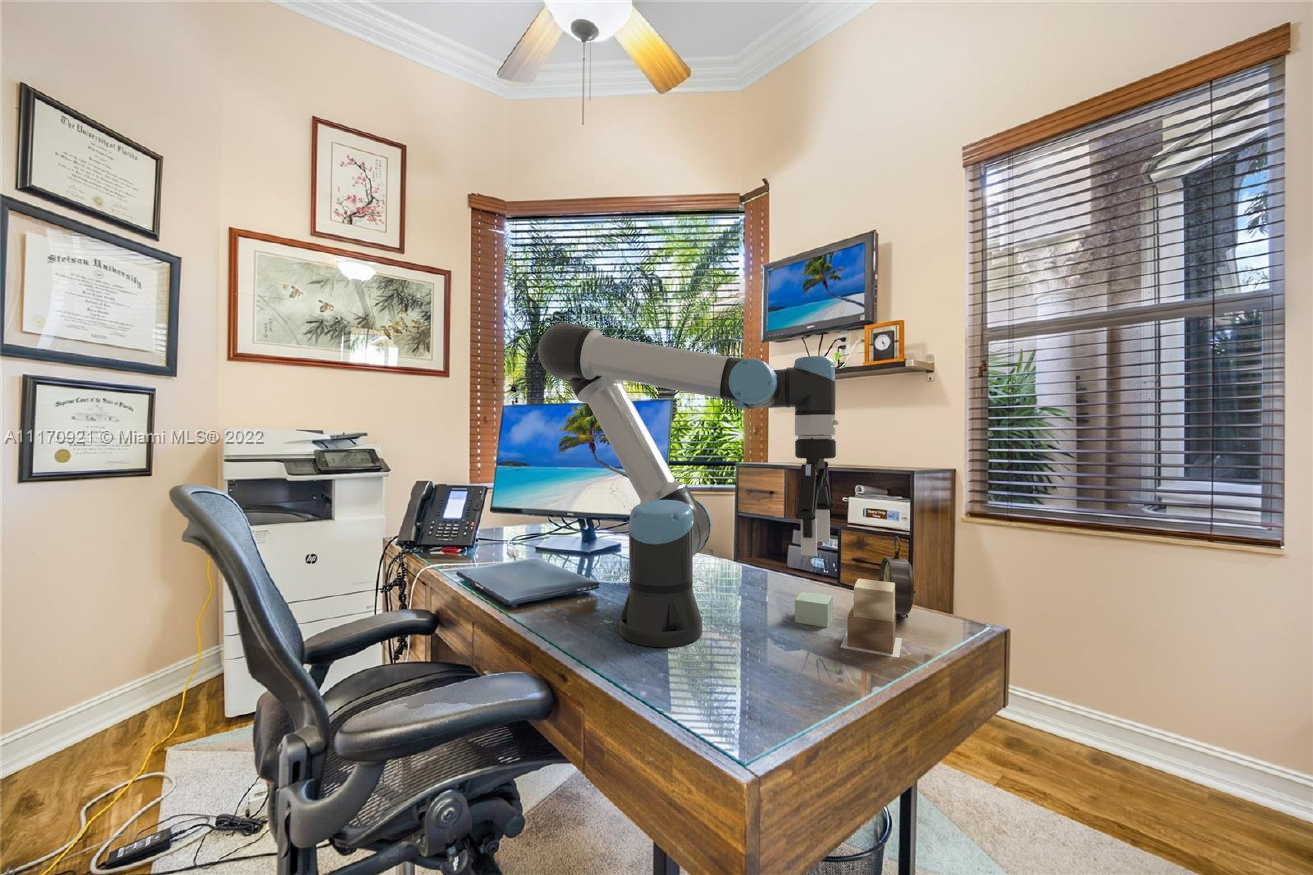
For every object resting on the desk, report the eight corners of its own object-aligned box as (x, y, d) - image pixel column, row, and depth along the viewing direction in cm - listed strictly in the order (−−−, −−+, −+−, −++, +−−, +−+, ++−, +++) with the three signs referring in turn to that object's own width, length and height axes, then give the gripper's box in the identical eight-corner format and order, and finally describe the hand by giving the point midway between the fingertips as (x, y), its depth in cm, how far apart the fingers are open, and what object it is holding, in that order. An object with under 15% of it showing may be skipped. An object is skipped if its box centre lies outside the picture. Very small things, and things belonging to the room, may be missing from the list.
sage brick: (794, 625, 101) (794, 599, 101) (801, 616, 106) (801, 591, 106) (827, 631, 98) (827, 604, 98) (832, 621, 103) (832, 595, 103)
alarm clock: (877, 608, 110) (877, 531, 110) (905, 610, 109) (905, 532, 109) (887, 627, 100) (888, 541, 100) (918, 629, 99) (919, 542, 98)
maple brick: (853, 616, 89) (853, 587, 89) (858, 606, 95) (858, 578, 94) (892, 622, 86) (892, 592, 86) (894, 611, 92) (895, 582, 92)
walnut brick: (847, 646, 89) (847, 616, 89) (852, 632, 95) (853, 604, 95) (892, 654, 86) (892, 623, 86) (895, 639, 92) (895, 610, 92)
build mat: (840, 650, 89) (840, 647, 89) (847, 632, 97) (847, 629, 97) (899, 661, 85) (899, 657, 85) (902, 641, 93) (902, 638, 93)
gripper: (823, 438, 89) (824, 564, 89) (845, 437, 111) (846, 538, 111) (779, 438, 93) (780, 559, 93) (808, 437, 115) (809, 535, 115)
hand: (816, 548), depth 102 cm, fingers open, 13 cm apart
